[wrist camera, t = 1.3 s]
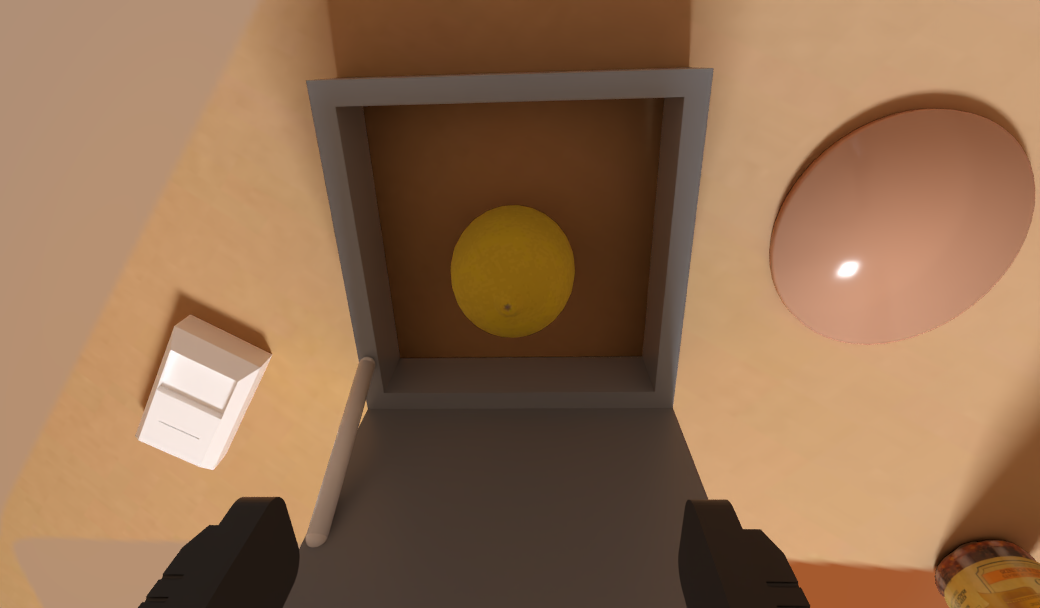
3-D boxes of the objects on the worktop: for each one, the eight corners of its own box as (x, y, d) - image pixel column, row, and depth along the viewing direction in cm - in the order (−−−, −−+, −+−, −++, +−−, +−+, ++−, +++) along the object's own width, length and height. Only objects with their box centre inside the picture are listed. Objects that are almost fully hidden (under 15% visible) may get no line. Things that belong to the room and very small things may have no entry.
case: (337, 78, 24) (-255, 125, 6) (689, 67, 23) (1188, 86, 5) (387, 384, 31) (185, 816, 13) (657, 382, 30) (825, 835, 12)
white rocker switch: (155, 417, 33) (125, 445, 31) (194, 311, 30) (164, 333, 27) (229, 450, 34) (205, 479, 32) (275, 351, 31) (253, 375, 28)
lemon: (527, 165, 25) (523, 207, 18) (590, 252, 27) (609, 323, 20) (441, 229, 27) (405, 292, 19) (506, 308, 28) (494, 392, 21)
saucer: (794, 112, 24) (800, 113, 23) (1066, 104, 23) (1079, 105, 23) (751, 340, 29) (755, 345, 28) (974, 338, 28) (982, 343, 28)
